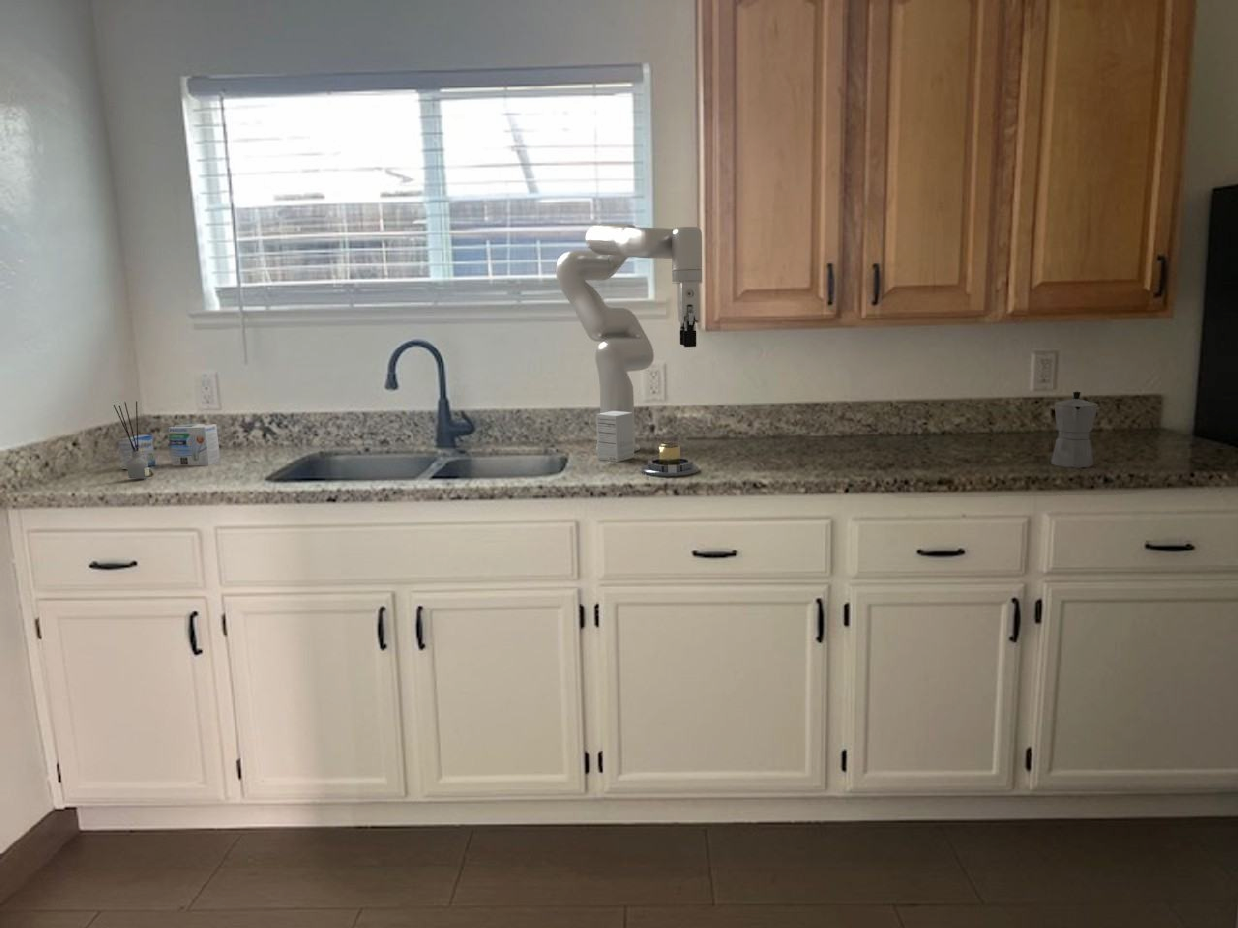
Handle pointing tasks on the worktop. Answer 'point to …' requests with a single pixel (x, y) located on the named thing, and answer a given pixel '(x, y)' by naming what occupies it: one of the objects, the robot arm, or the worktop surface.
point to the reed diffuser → (135, 454)
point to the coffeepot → (1074, 432)
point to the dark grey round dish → (670, 468)
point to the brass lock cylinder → (669, 453)
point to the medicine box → (143, 445)
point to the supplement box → (615, 436)
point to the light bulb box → (194, 445)
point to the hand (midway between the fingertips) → (687, 346)
